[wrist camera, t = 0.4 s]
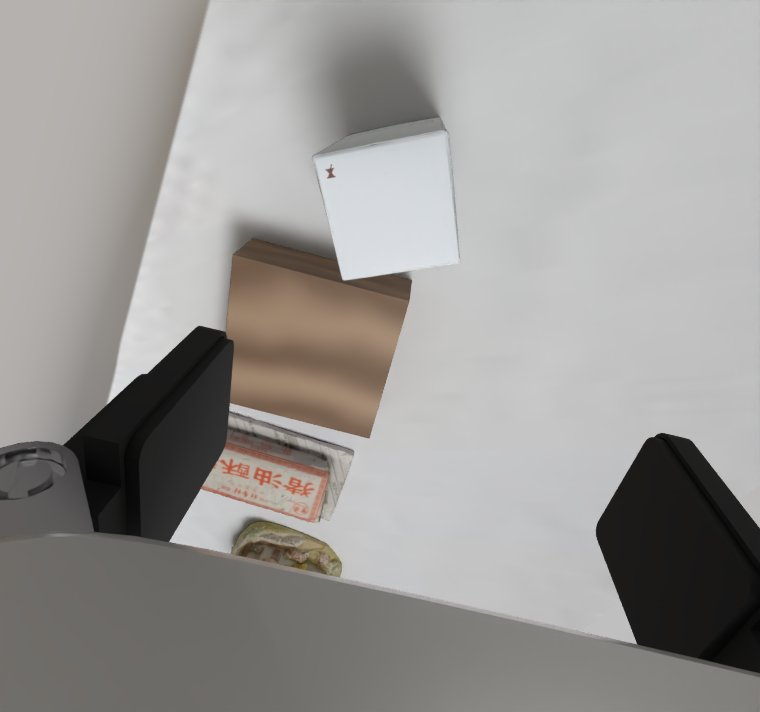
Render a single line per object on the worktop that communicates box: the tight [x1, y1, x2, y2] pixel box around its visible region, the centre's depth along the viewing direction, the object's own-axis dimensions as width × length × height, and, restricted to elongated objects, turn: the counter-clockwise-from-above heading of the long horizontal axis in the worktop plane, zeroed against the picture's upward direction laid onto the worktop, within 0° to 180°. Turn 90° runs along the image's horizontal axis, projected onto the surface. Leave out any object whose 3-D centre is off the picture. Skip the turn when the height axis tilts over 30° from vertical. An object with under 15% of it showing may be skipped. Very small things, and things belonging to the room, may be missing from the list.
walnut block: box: [226, 239, 412, 438], centre depth 43 cm, size 14×14×5 cm
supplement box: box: [312, 117, 460, 280], centre depth 32 cm, size 7×7×13 cm
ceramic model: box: [231, 522, 342, 577], centre depth 56 cm, size 14×11×10 cm
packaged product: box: [201, 412, 354, 523], centre depth 52 cm, size 18×5×10 cm
